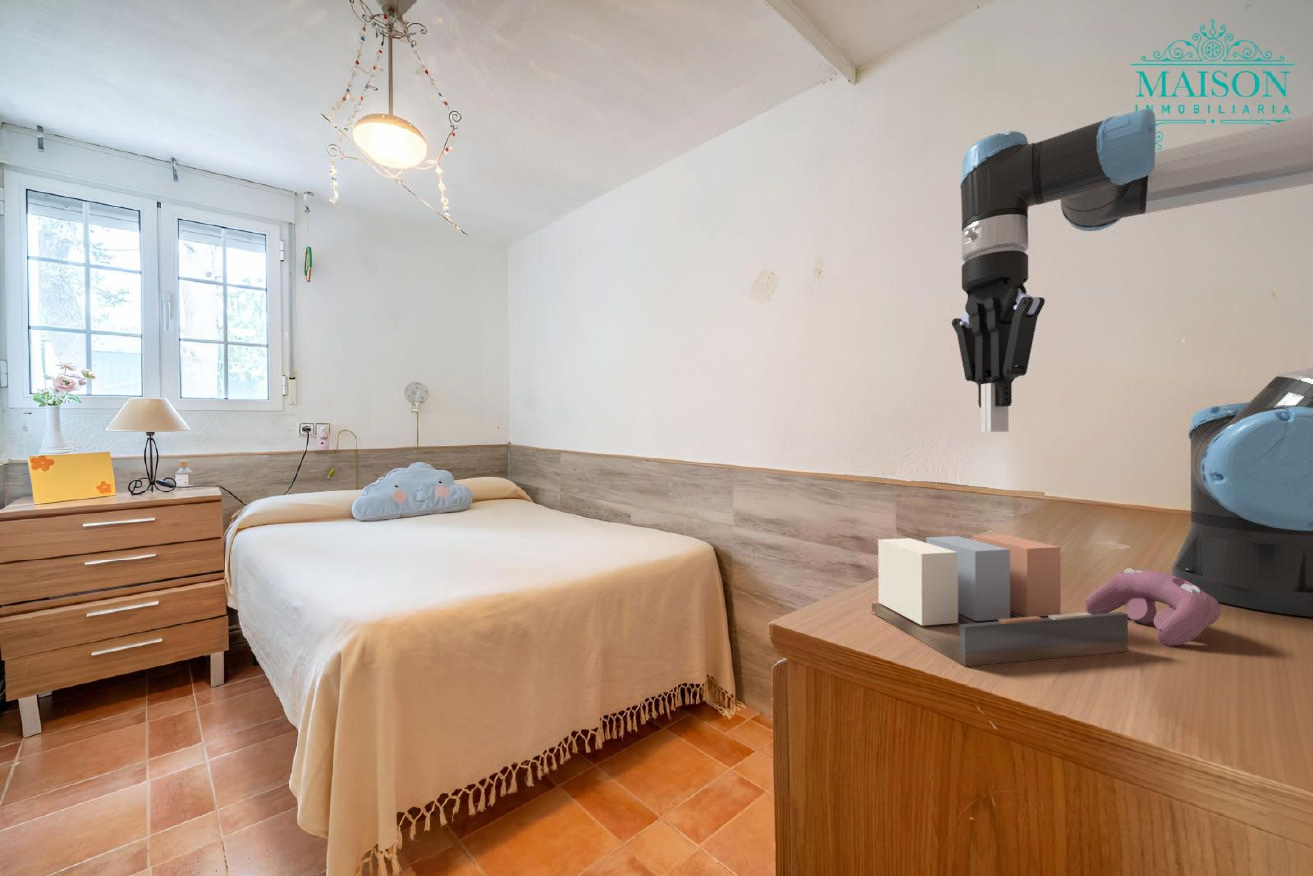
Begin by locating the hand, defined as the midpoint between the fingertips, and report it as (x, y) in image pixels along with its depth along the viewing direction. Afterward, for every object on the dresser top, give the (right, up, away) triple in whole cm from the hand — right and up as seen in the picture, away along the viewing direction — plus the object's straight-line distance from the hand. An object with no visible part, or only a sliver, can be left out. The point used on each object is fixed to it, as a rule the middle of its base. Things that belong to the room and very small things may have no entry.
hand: (994, 431), depth 69 cm
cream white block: (-19, -19, -15) cm, 31 cm away
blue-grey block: (-13, -19, -14) cm, 27 cm away
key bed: (-12, -21, -16) cm, 29 cm away
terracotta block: (-7, -19, -13) cm, 24 cm away
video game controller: (+5, -21, -17) cm, 27 cm away
